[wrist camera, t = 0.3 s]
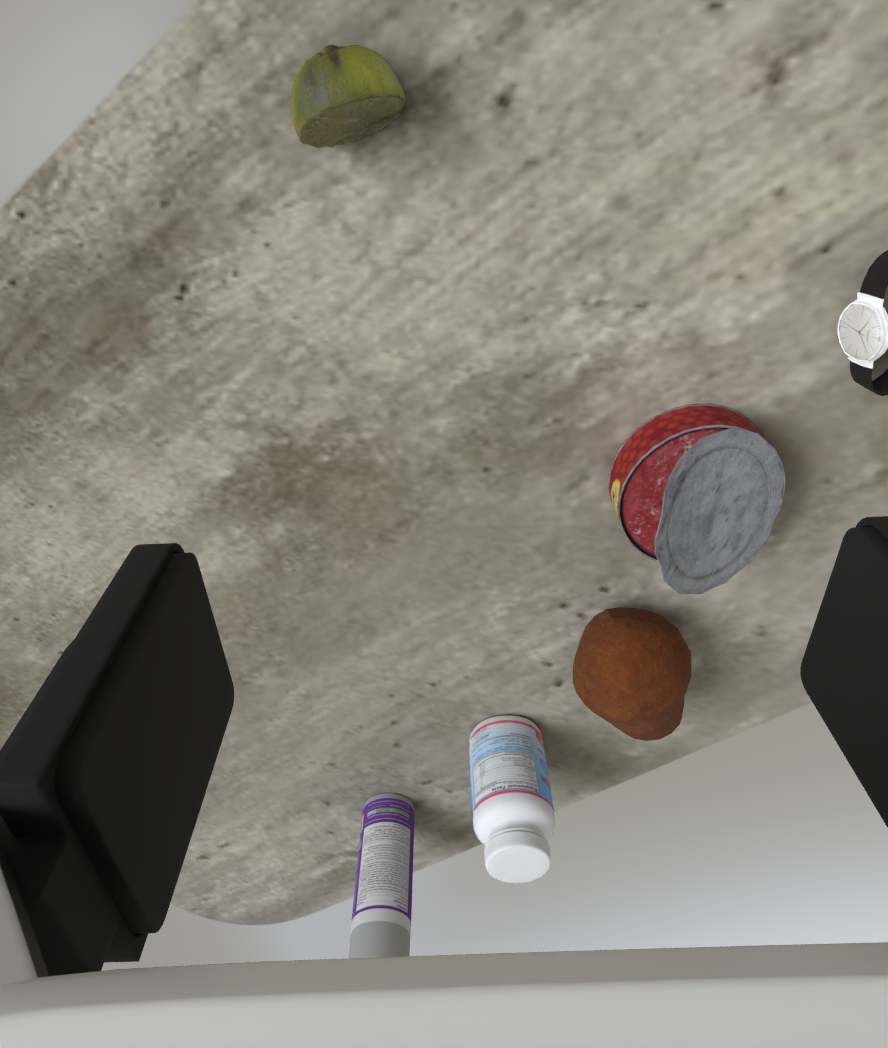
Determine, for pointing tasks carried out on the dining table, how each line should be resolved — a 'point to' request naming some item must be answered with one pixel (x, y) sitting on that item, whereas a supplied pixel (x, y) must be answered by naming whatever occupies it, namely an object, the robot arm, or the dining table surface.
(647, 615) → the potato
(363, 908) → the container
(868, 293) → the watch
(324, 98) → the lime
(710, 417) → the canned food
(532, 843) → the pill bottle
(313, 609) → the dining table surface
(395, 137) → the dining table surface
